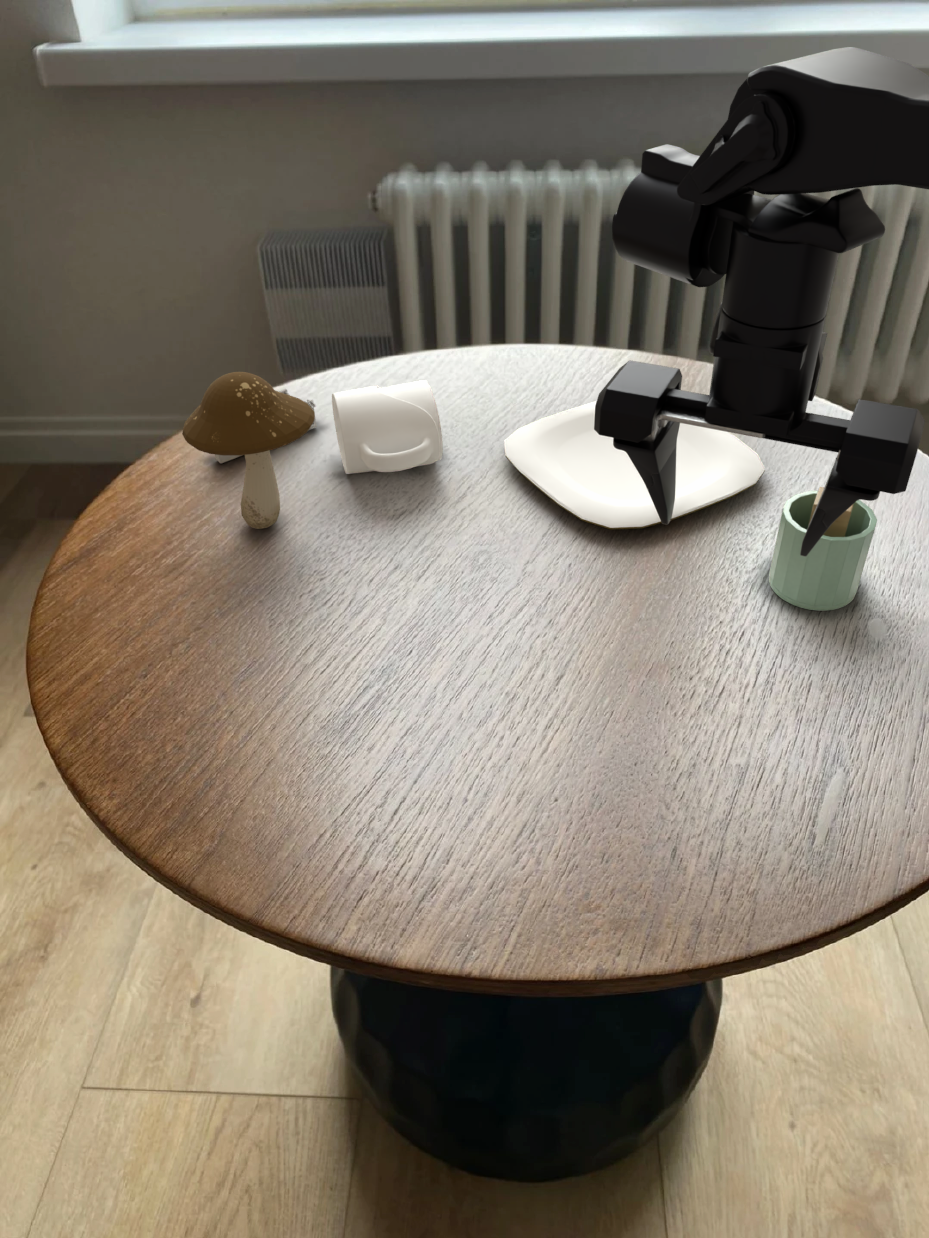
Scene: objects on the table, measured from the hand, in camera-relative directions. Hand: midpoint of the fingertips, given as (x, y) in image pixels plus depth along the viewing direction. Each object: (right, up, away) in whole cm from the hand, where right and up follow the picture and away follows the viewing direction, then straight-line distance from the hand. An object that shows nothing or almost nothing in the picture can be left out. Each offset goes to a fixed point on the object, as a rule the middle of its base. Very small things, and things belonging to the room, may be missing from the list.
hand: (733, 536), depth 64 cm
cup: (+11, -3, +16) cm, 20 cm away
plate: (-2, +9, +31) cm, 33 cm away
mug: (-25, +10, +33) cm, 43 cm away
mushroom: (-36, +3, +26) cm, 45 cm away
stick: (+11, -2, +16) cm, 20 cm away
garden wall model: (-39, +13, +37) cm, 55 cm away
